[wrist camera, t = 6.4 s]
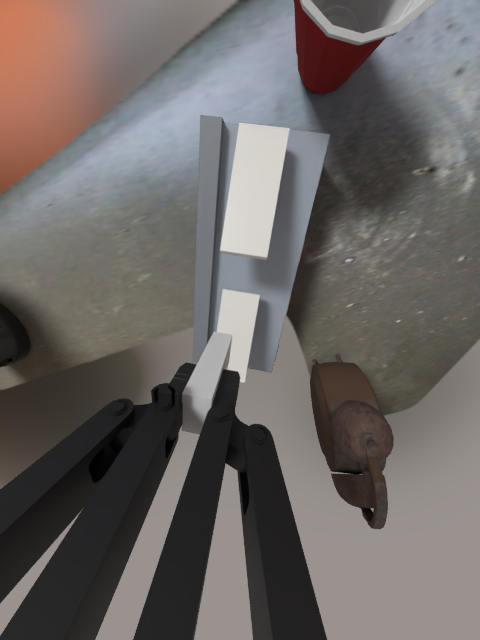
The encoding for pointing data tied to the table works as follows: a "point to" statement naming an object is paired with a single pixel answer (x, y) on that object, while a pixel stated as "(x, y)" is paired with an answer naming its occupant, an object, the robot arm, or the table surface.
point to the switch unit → (285, 241)
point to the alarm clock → (352, 436)
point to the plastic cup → (345, 35)
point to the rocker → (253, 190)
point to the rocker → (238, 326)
